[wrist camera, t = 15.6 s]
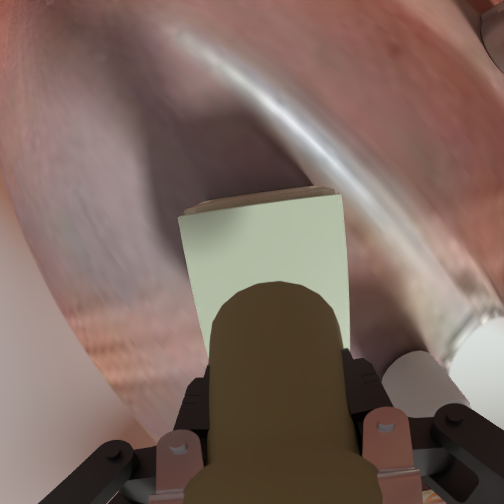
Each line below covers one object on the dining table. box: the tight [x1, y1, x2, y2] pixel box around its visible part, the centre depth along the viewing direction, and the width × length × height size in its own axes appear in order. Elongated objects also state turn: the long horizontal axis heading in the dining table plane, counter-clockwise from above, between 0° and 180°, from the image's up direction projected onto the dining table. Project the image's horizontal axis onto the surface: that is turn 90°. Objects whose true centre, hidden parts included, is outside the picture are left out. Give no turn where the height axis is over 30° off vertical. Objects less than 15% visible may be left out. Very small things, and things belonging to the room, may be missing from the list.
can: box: [381, 351, 471, 418], centre depth 26 cm, size 8×8×12 cm
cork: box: [183, 281, 383, 504], centre depth 8 cm, size 6×6×11 cm
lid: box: [178, 194, 350, 358], centre depth 20 cm, size 12×10×1 cm
